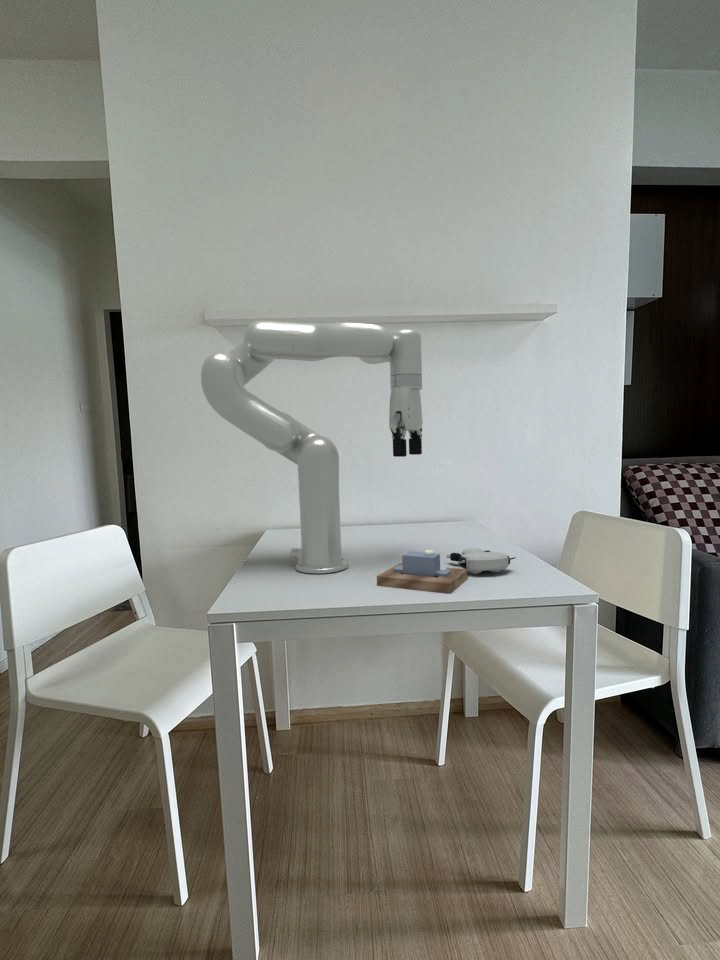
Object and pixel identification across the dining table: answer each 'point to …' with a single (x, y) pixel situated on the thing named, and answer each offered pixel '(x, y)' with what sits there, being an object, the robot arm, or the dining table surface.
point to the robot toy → (481, 560)
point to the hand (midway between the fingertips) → (407, 455)
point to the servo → (421, 564)
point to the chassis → (423, 580)
